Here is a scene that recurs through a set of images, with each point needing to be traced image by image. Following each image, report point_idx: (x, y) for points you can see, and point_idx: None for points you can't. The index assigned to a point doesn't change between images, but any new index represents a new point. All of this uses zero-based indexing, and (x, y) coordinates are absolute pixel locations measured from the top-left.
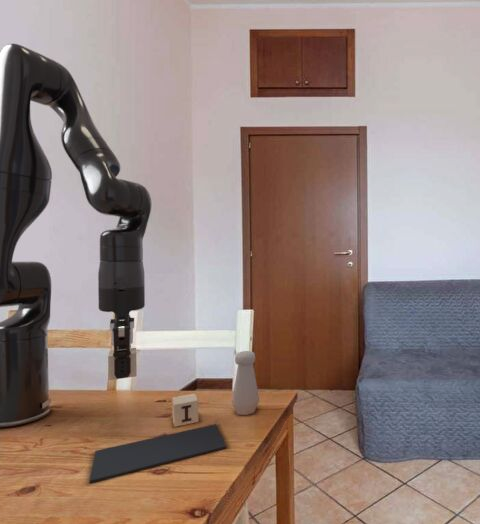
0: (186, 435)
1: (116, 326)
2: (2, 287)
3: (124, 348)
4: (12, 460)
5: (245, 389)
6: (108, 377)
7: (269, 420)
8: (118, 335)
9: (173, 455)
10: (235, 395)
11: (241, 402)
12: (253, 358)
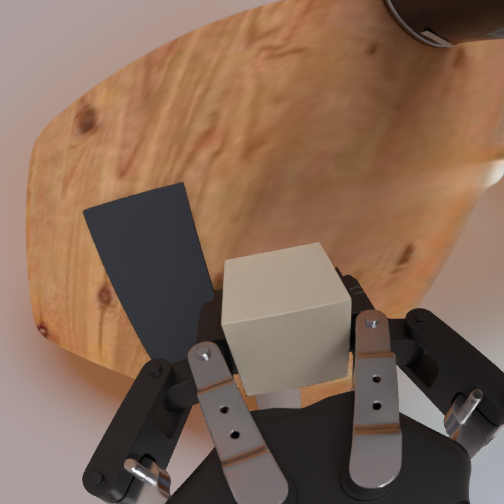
0: None
1: (102, 499)
2: None
3: (353, 347)
4: (208, 33)
5: None
6: (225, 265)
7: None
8: (139, 459)
9: (136, 311)
10: (269, 400)
11: (258, 398)
12: None
